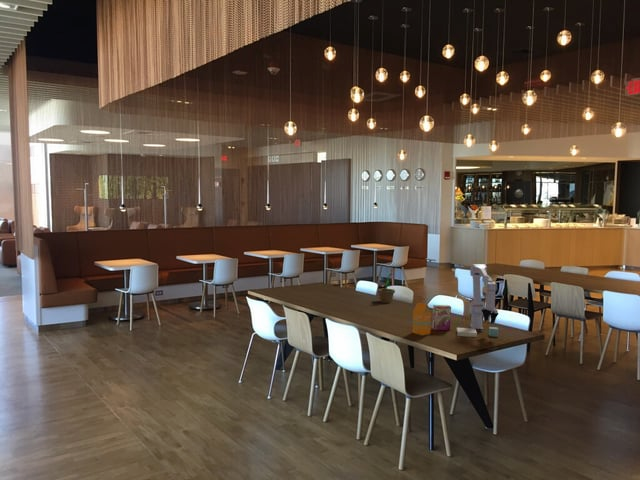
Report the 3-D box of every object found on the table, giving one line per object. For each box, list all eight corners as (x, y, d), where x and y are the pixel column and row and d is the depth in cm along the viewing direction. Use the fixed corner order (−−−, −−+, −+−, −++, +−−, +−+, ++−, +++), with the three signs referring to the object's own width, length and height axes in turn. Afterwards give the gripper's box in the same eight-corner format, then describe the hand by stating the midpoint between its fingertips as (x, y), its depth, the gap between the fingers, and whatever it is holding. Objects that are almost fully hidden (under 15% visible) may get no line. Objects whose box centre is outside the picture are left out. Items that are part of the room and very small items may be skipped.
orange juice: (422, 335, 337) (423, 305, 335) (412, 332, 344) (413, 302, 342) (430, 333, 341) (431, 303, 340) (420, 331, 348) (421, 301, 347)
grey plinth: (456, 331, 350) (456, 327, 349) (475, 333, 347) (475, 328, 347) (457, 336, 338) (457, 331, 338) (476, 337, 335) (477, 333, 335)
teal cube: (489, 334, 343) (489, 326, 343) (496, 334, 342) (497, 327, 342) (489, 336, 338) (490, 328, 338) (497, 336, 337) (498, 329, 337)
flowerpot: (394, 303, 439) (395, 268, 437) (377, 303, 441) (378, 267, 439) (394, 300, 453) (395, 266, 451) (377, 299, 455) (378, 265, 453)
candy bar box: (433, 330, 351) (434, 306, 350) (432, 328, 356) (432, 304, 354) (450, 330, 351) (451, 306, 350) (448, 328, 356) (449, 304, 355)
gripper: (478, 299, 342) (477, 319, 343) (491, 303, 328) (490, 324, 329) (488, 298, 343) (487, 319, 345) (501, 303, 329) (500, 324, 331)
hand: (489, 321), depth 337 cm, fingers open, 7 cm apart
